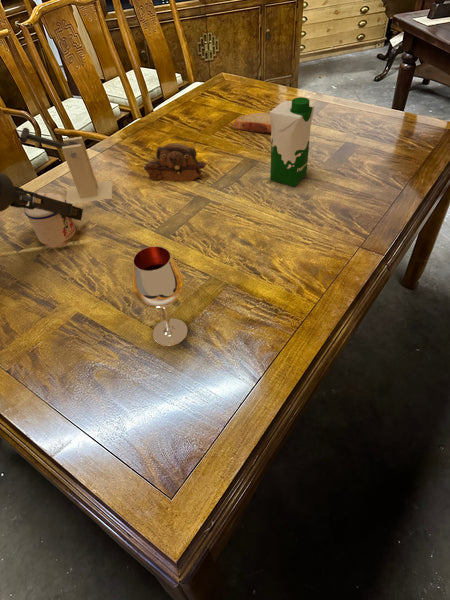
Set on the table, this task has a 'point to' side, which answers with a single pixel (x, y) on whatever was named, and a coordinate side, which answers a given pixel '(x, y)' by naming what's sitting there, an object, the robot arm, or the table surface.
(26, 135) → the lever
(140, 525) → the table surface
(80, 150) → the tan upright plank
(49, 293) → the table surface
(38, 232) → the teacup with lid
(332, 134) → the table surface
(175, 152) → the wooden carving
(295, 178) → the milk carton
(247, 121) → the slice of bread
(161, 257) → the wineglass
